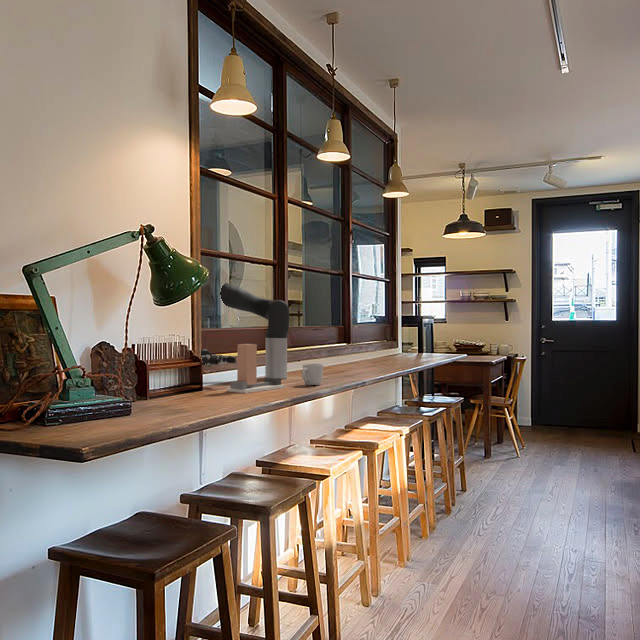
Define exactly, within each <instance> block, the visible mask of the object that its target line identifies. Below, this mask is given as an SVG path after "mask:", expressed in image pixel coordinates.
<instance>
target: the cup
mask: <svg viewBox="0 0 640 640" xmlns="http://www.w3.org/2000/svg"><path fill="white" fill-rule="evenodd" d="M323 371H324V364H323V363H303V364H302V370H301V377H302V380H303V383H304V385H306V386H311V385H316V386H320V385H321V384H322V382H323Z"/></svg>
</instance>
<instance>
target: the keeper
mask: <svg viewBox="0 0 640 640" xmlns="http://www.w3.org/2000/svg"><path fill="white" fill-rule="evenodd" d="M257 347H258V345H257V344H255V343H242V344H241V343H239V344H237V361H236V363H237V365H236V367H237V370H236V371H237V377H236V378H237V380H236V381H242V382H247V385H252V384H257V383H258V381H257V379H258V378H257V377H258V376H257V374H258V373H257V372H258V370H257V367H258V366H257V364H258V363H257V362H258V361H257V358H258V355H257V352H258V351H257V350H258V348H257Z"/></svg>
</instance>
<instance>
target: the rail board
mask: <svg viewBox="0 0 640 640" xmlns="http://www.w3.org/2000/svg"><path fill="white" fill-rule="evenodd" d="M278 388H279V389H284V388H286V385H285V384H282V379H281V378H275V377H265V376H264V381H263V382H257V384H252V385H247V382H242V381H237V380H231V381H230V387H227V388H226V392H232V393H240V394H241V393H242V394H248V393H257V392H263V391H270V390H272V391H273V390H278Z"/></svg>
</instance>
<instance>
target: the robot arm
mask: <svg viewBox="0 0 640 640" xmlns="http://www.w3.org/2000/svg"><path fill="white" fill-rule="evenodd" d="M220 295H221V299H222V301H223V303H224V304H225V305H226V306H225V307H227V306H228V308H232V309H235V310H239V311H241V312H248V313H252V314H255V315H257V316H258V317H261V318H262V319H263V318H264V319H265V320H267V322H268V323H267V324H268V325H267V328H266V331H265V360H264V361H265V371H264V372H265V374H264V375H265V376H264V378H265V377H275V378H281V380H284V379H287V378H288V334H289V330H290V308H289V304H288V303H286V302H285V301H284V300H280V299H275V300H272V299H267V298H264V297H260V296H257V295H255V294H252V293H251V292H249V291H248V290H246V289H244V288H241V287H239V286H237V285H235V284H231V283H229V282H225V284H224V285H223V286H222V288H221V292H220ZM200 349H201V348H200ZM201 358H202V361H203V363H202V365H205V363H206V365H208V366H209V367H210V366H215V365H223V364H236V363H237V357H235V356H232V355H223V354H215V353H214V354H213V353H211V352H210V350H208V349H204V348H202V349H201Z"/></svg>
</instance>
